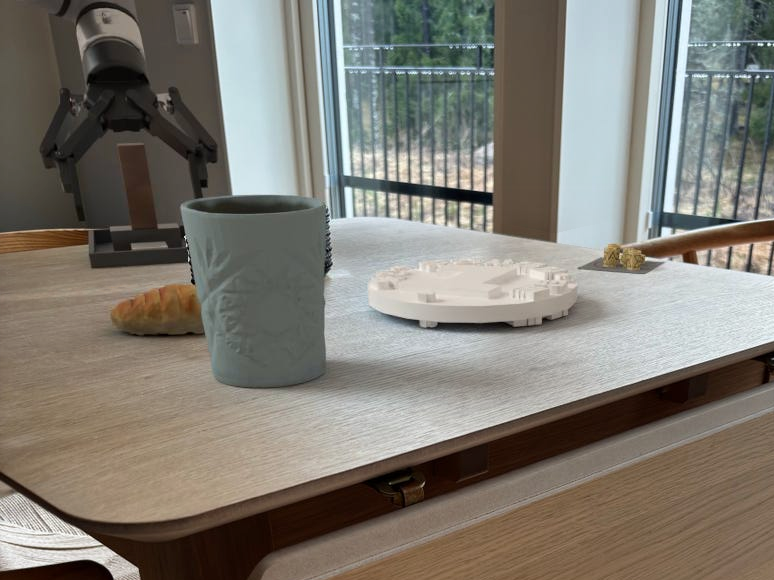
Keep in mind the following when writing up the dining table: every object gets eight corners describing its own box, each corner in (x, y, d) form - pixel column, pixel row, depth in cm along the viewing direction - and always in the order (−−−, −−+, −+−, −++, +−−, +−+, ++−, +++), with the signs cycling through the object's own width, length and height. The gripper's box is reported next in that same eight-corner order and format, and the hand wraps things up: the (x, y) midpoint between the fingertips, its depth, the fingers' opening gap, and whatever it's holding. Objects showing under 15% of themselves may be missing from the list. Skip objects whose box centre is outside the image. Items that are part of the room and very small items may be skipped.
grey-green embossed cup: (252, 350, 81) (233, 191, 74) (362, 362, 77) (351, 196, 71) (177, 383, 72) (148, 208, 66) (296, 397, 69) (277, 214, 63)
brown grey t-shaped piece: (114, 253, 117) (94, 146, 111) (113, 248, 120) (94, 144, 115) (183, 249, 119) (167, 144, 114) (180, 244, 123) (164, 142, 117)
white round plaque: (326, 308, 94) (323, 276, 93) (471, 279, 106) (471, 251, 105) (472, 344, 82) (472, 307, 80) (617, 307, 94) (619, 275, 92)
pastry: (114, 341, 83) (105, 295, 82) (113, 324, 89) (104, 281, 87) (225, 332, 86) (219, 287, 84) (218, 316, 92) (212, 273, 90)
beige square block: (132, 256, 115) (130, 243, 114) (167, 254, 116) (165, 241, 115) (134, 262, 112) (131, 248, 111) (170, 260, 113) (167, 246, 112)
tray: (92, 248, 125) (88, 229, 124) (197, 242, 129) (195, 224, 128) (92, 275, 109) (88, 253, 108) (213, 267, 113) (210, 246, 112)
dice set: (637, 270, 110) (639, 252, 109) (595, 267, 112) (595, 249, 111) (651, 263, 114) (652, 245, 113) (609, 260, 116) (610, 243, 115)
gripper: (-4, 36, 112) (20, 193, 108) (217, 36, 119) (248, 183, 115) (11, 88, 119) (34, 237, 115) (218, 85, 126) (248, 226, 122)
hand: (141, 211), depth 115 cm, fingers open, 13 cm apart
